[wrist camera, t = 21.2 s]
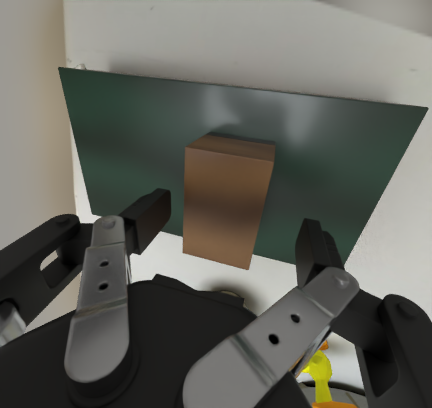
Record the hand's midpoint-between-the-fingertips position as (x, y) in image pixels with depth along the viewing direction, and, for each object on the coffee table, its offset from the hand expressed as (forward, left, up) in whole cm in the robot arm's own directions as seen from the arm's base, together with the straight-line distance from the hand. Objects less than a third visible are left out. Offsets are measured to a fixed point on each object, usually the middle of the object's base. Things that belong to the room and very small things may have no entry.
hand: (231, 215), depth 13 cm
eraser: (0, -1, -6) cm, 6 cm away
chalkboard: (0, -3, -12) cm, 12 cm away
